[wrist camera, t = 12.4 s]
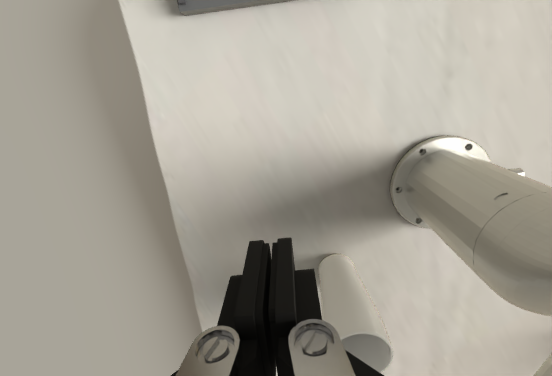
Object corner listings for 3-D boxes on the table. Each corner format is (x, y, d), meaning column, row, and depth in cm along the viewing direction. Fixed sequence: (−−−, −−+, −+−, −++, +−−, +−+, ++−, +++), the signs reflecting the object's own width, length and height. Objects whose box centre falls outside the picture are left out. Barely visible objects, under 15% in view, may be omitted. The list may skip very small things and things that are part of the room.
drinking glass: (320, 290, 45) (337, 386, 31) (307, 255, 43) (318, 341, 29) (363, 279, 44) (401, 372, 30) (351, 242, 42) (386, 324, 28)
